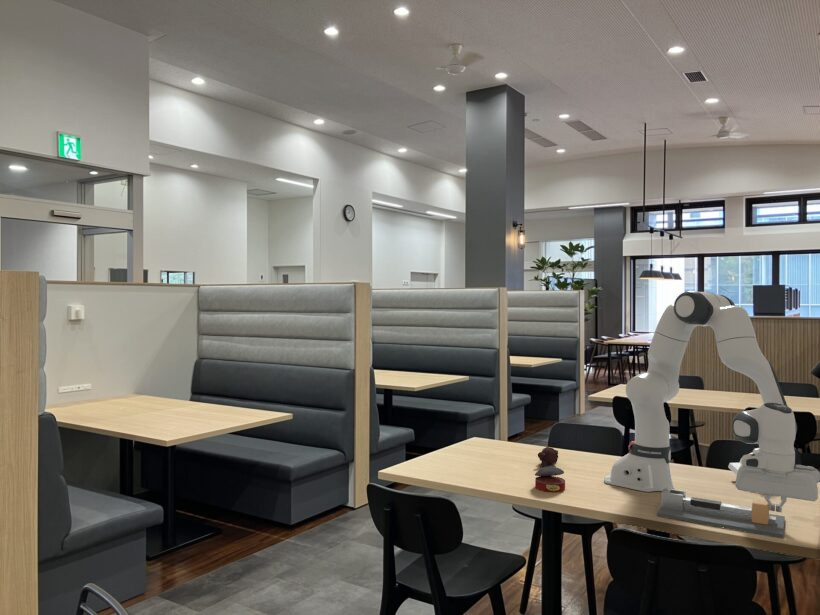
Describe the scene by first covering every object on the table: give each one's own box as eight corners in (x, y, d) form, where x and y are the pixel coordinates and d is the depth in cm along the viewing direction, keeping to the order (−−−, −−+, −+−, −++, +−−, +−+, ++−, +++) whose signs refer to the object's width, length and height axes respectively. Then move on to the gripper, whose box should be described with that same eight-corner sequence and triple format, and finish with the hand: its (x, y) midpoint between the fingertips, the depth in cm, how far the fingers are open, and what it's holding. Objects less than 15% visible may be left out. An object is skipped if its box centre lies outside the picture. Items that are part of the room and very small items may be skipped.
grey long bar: (661, 507, 194) (661, 492, 194) (664, 502, 198) (664, 487, 198) (775, 526, 178) (775, 510, 178) (776, 520, 183) (776, 505, 183)
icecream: (547, 443, 257) (529, 452, 245) (563, 441, 252) (546, 451, 240) (551, 460, 256) (533, 470, 244) (568, 458, 251) (550, 469, 240)
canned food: (536, 503, 214) (523, 475, 216) (549, 493, 222) (536, 466, 224) (564, 494, 207) (550, 465, 209) (576, 484, 215) (562, 456, 217)
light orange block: (751, 521, 181) (752, 503, 181) (752, 517, 186) (753, 499, 186) (768, 524, 179) (768, 506, 179) (768, 519, 184) (769, 501, 183)
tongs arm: (673, 502, 193) (673, 496, 193) (674, 500, 196) (675, 494, 196) (751, 515, 182) (751, 509, 182) (752, 512, 185) (752, 506, 185)
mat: (657, 516, 188) (657, 512, 188) (667, 500, 204) (668, 497, 204) (783, 538, 172) (783, 534, 172) (784, 519, 187) (784, 516, 187)
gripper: (820, 465, 178) (818, 514, 178) (737, 454, 188) (736, 501, 189) (820, 470, 172) (819, 521, 173) (735, 459, 183) (734, 507, 183)
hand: (775, 511), depth 181 cm, fingers closed
